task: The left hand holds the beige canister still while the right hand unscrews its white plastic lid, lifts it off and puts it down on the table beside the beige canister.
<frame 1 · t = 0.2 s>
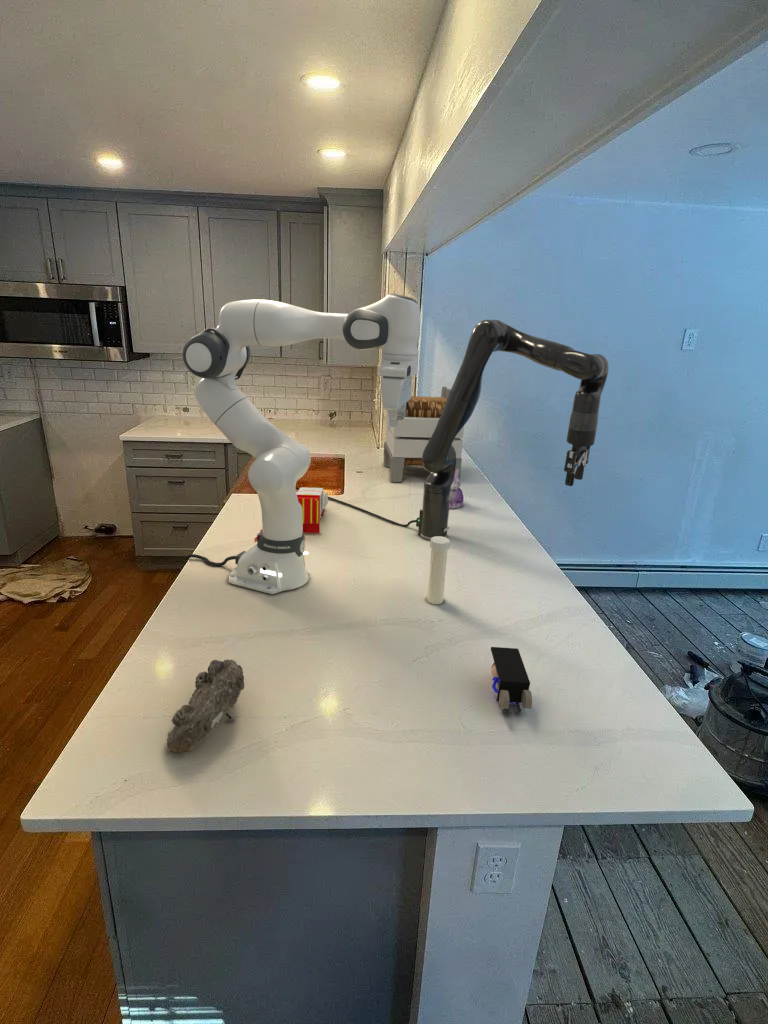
left hand: (396, 423, 141), 48 cm above the counter, tool pointing down, fingers open, 8 cm apart
right hand: (573, 482, 165), 29 cm above the counter, tool pointing down, fingers open, 8 cm apart
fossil: (212, 717, 108), on the counter
lid: (440, 541, 149), point 18 cm above the counter, screwed on, not yet turned
figurine character: (507, 696, 118), on the counter
beige canister: (435, 600, 155), on the counter
transformer: (419, 473, 275), on the counter
toy: (309, 520, 209), on the counter
figurine: (452, 505, 231), on the counter
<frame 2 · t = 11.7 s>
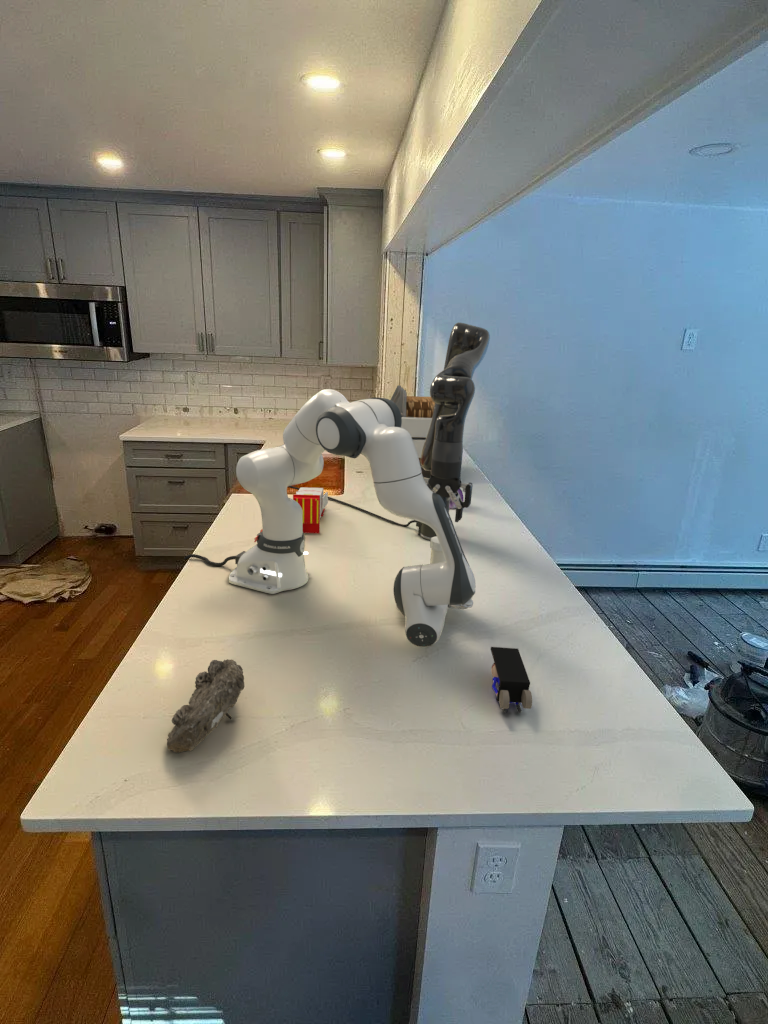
left hand: (437, 578, 154), 6 cm above the counter, tool horizontal, fingers closed on beige canister, 4 cm apart
right hand: (441, 518, 147), 24 cm above the counter, tool pointing down, fingers open, 7 cm apart
beige canister: (435, 600, 155), on the counter, touching left hand
everything else where it was.
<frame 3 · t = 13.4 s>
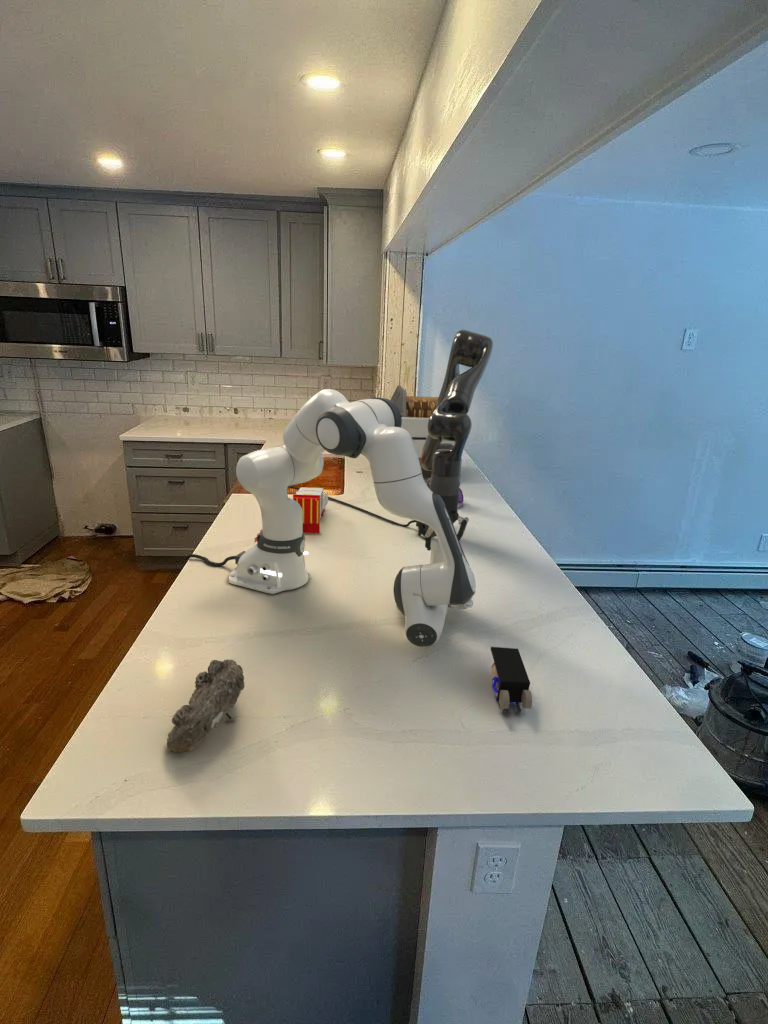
left hand: (437, 578, 154), 6 cm above the counter, tool horizontal, fingers closed on beige canister, 4 cm apart
right hand: (439, 551, 150), 15 cm above the counter, tool pointing down, fingers closed on lid, 5 cm apart
lid: (440, 541, 149), point 18 cm above the counter, screwed on, not yet turned, touching right hand
beige canister: (435, 600, 155), on the counter, touching left hand
everything else where it was.
when the right hand's fingers open (0 cm above the counter, at t = 32.7 s): lid drops 1 cm, point 2 cm above the counter.
when the left hand's fingers open (6 cm above the counter, at t = 33.8 s): beige canister stays where it is, on the counter.
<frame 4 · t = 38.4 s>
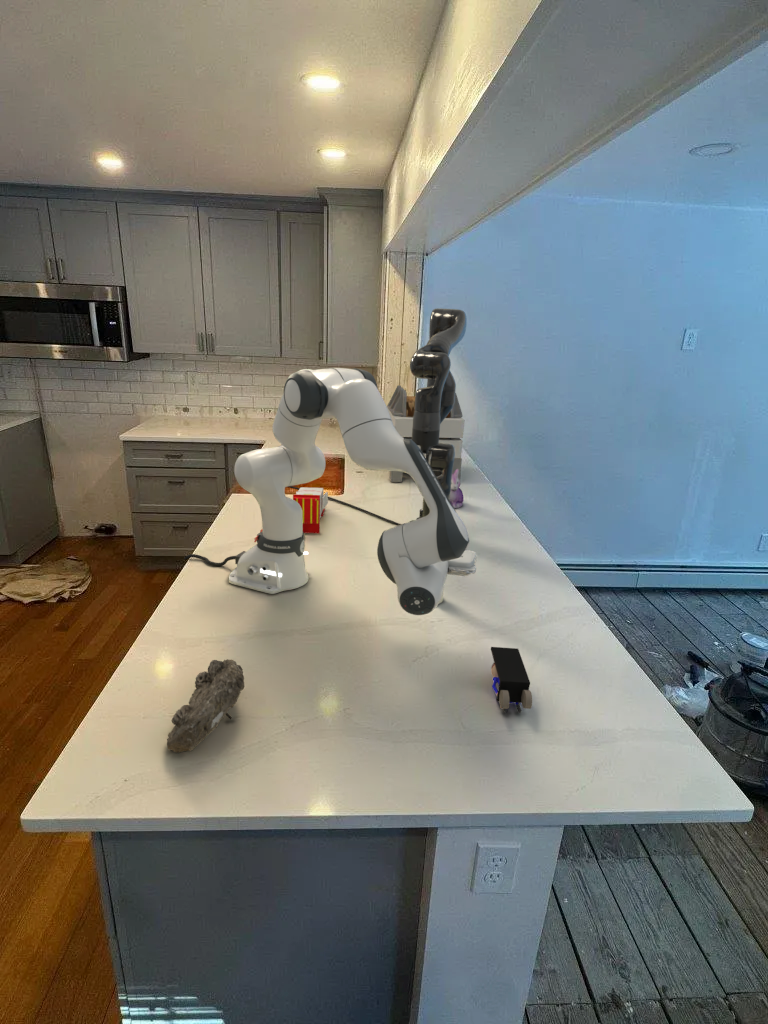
left hand: (435, 544, 138), 21 cm above the counter, tool horizontal, fingers open, 8 cm apart
right hand: (422, 483, 161), 28 cm above the counter, tool pointing down, fingers open, 8 cm apart
lid: (416, 567, 170), point 2 cm above the counter, off its thread
beige canister: (434, 600, 156), on the counter
everything else where it was.
at the end: lid came off its thread; lid point 1.9 cm above the counter; the left hand is holding nothing; the right hand is holding nothing; beige canister tilted 0°; beige canister moved 0.3 cm from its start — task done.
